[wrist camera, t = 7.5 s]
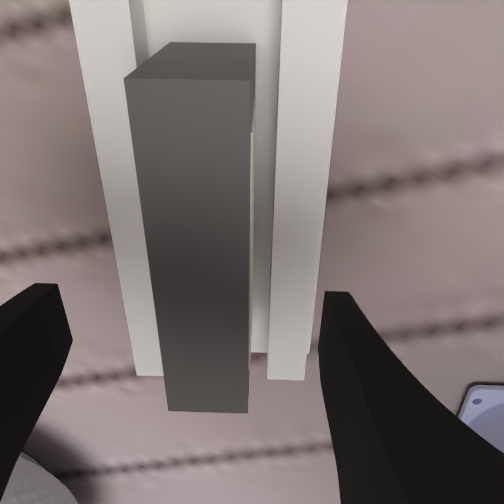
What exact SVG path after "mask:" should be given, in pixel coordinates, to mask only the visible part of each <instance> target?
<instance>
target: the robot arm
mask: <svg viewBox="0 0 504 504" xmlns="http://www.w3.org/2000/svg"><path fill="white" fill-rule="evenodd" d="M72 341H73V339H72V335H71V332H70V328H69V324H68V321H67V317H66V313H65V310H64V306H63V302H62V299H61V295H60V291H59V288H58V284H48V283H35V284H33V285H31V286H30V287H28V288H26V289H25V290H23V291H22V292H20V293H19V294H17V295H16V296H14V297H13V298H11V299H10V300H8V301H7V302H5V303H4V304H3V305H1V306H0V502H1V499H2V497H3V494H4V492H5V489H6V487H7V484H8V482H9V479H10V476H11V474H12V471H13V469H14V466H15V464H16V462H17V460H18V458H19V456H20V453H21V451H22V449H23V447H24V445H25V443H26V441H27V439H28V437H29V435H30V434H31V432H32V430H33V428H34V426H35V424H36V422H37V420H38V418H39V416H40V414H41V412H42V410H43V409H44V407H45V405H46V403H47V401H48V399H49V397H50V395H51V393H52V391H53V389H54V387H55V385H56V383H57V381H58V379H59V377H60V375H61V373H62V370H63V367H64V365H65V362H66V359H67V356H68V353H69V350H70V347H71V344H72ZM318 353H319V368H320V380H321V387H322V392H323V397H324V402H325V408H326V413H327V418H328V423H329V428H330V433H331V438H332V443H333V449H334V454H335V459H336V465H337V472H338V479H339V489H340V499H341V504H504V386H497V385H475V386H473V387H471V388H470V389H469V391H468V393H467V396H466V398H465V401H464V403H463V406H462V408H461V411H460V413H459V416H458V417H457V416H455V415H454V414H453V413H452V412H451V411H450V410H448V409H447V408H446V407H445V406H444V405H443V404H442V403H441V402H439V401H438V400H437V399H436V398H435V397H434V396H433V395H432V394H431V393H430V392H429V391H428V390H427V389H426V388H425V387H424V386H423V385H422V384H421V383H420V382H419V381H418V380H417V379H416V378H415V377H414V376H413V375H412V373H411V372H410V371H409V370H408V369H407V368H406V367H405V366H404V365H403V363H402V362H401V361H400V360H399V359H398V358H397V356H396V355H395V354H394V353H393V352H392V351H391V349H390V348H389V347H388V346H387V344H386V343H385V342H384V340H383V339H382V338H381V337H380V335H379V334H378V333H377V332H376V330H375V329H374V328H373V326H372V325H371V323H370V322H369V321H368V319H367V318H366V316H365V315H364V314H363V312H362V311H361V309H360V308H359V306H358V305H357V303H356V302H355V300H354V299H353V297H352V296H351V295H350V293H349V292H336V291H325V295H324V303H323V311H322V320H321V328H320V336H319V344H318Z"/></svg>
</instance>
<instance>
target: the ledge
mask: <svg viewBox="0 0 504 504" xmlns="http://www.w3.org/2000/svg"><path fill="white" fill-rule="evenodd" d="M347 1H348V0H69V3H70V8H71V14H72V19H73V25H74V30H75V36H76V42H77V47H78V53H79V58H80V64H81V69H82V75H83V80H84V86H85V91H86V97H87V102H88V108H89V113H90V119H91V124H92V130H93V135H94V141H95V147H96V152H97V158H98V163H99V169H100V174H101V180H102V185H103V191H104V196H105V202H106V207H107V213H108V218H109V224H110V229H111V235H112V241H113V246H114V252H115V257H116V263H117V268H118V274H119V279H120V285H121V290H122V296H123V301H124V307H125V312H126V318H127V323H128V329H129V334H130V340H131V346H132V351H133V357H134V362H135V368H136V373H137V375H140V376H164V374H163V367H162V359H161V352H160V344H159V337H158V330H157V322H156V315H155V307H154V300H153V293H152V285H151V278H150V270H149V263H148V256H147V248H146V241H145V234H144V226H143V219H142V211H141V204H140V197H139V189H138V182H137V174H136V167H135V160H134V152H133V145H132V137H131V130H130V123H129V115H128V108H127V101H126V93H125V86H124V78H125V77H126V76H127V75H128V74H130V73H131V72H132V71H134V70H135V69H136V68H137V67H139V66H140V65H141V64H143V63H144V62H145V61H146V60H148V59H149V58H150V57H151V56H153V55H154V54H155V53H157V52H158V51H159V50H160V49H162V48H163V47H164V46H166V45H167V44H168V43H169V42H198V43H256V79H255V96H256V130H255V199H254V267H253V313H252V335H251V352H260V353H267V379H272V380H304V375H305V366H306V356H307V354H309V352H310V343H311V334H312V325H313V315H314V306H315V297H316V288H317V278H318V269H319V260H320V251H321V242H322V232H323V223H324V214H325V205H326V195H327V186H328V177H329V168H330V158H331V149H332V140H333V131H334V121H335V112H336V103H337V94H338V84H339V75H340V66H341V57H342V47H343V38H344V29H345V20H346V10H347Z"/></svg>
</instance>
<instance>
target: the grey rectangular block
mask: <svg viewBox="0 0 504 504" xmlns="http://www.w3.org/2000/svg"><path fill="white" fill-rule="evenodd" d="M255 79H256V43H198V42H169V43H168V44H167V45H166V46H164V47H163V48H162V49H160V50H159V51H158V52H157V53H155V54H154V55H153V56H151V57H150V58H149V59H148V60H146V61H145V62H144V63H143V64H141V65H140V66H139V67H137V68H136V69H135V70H134V71H132V72H131V73H130V74H128V75H127V76H126V77H125V78H124V86H125V93H126V101H127V108H128V115H129V123H130V130H131V137H132V145H133V152H134V160H135V167H136V174H137V182H138V189H139V197H140V204H141V211H142V219H143V226H144V234H145V241H146V248H147V256H148V263H149V270H150V278H151V285H152V293H153V300H154V307H155V315H156V322H157V330H158V337H159V344H160V352H161V359H162V367H163V374H164V381H165V389H166V396H167V403H168V411H187V412H218V413H248V394H249V372H250V358H251V335H252V313H253V267H254V199H255V130H256V96H255Z"/></svg>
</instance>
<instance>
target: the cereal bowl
mask: <svg viewBox="0 0 504 504" xmlns="http://www.w3.org/2000/svg"><path fill="white" fill-rule="evenodd" d="M0 504H79V503H78V502H77V501H76V498H75V497H74V496H73V495H72V494H71V492H70V491H69V490H68V489H67V487H66V486H65V485H64V484H62V483H61V482H60V481H59V480H58V479H57V478H55V477H54V476H53V475H52V474H51V473H49V472H47V471H46V470H45V469H44V468H43V467H42V466H41V465H40V464H39V463H38V462H37V461H36V460H34V459H33V458H32V457H30V456H29V455H27V454H25V453H24V452H22V451H21V453H20V456H19V458H18V460H17V462H16V464H15V466H14V469H13V471H12V474H11V476H10V479H9V482H8V484H7V487H6V489H5V492H4V494H3V497H2V499H1V502H0Z"/></svg>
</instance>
